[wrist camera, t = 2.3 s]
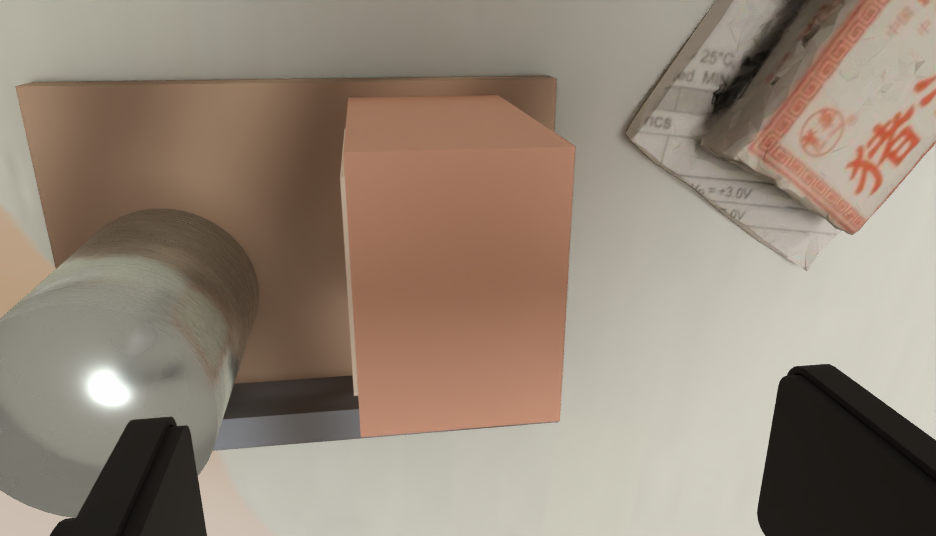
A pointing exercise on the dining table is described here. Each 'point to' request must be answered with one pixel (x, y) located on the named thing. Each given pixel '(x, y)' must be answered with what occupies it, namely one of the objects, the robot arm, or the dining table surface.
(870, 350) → the dining table surface
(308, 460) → the dining table surface
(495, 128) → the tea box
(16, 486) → the tin
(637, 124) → the packaged product
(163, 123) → the shelf board
